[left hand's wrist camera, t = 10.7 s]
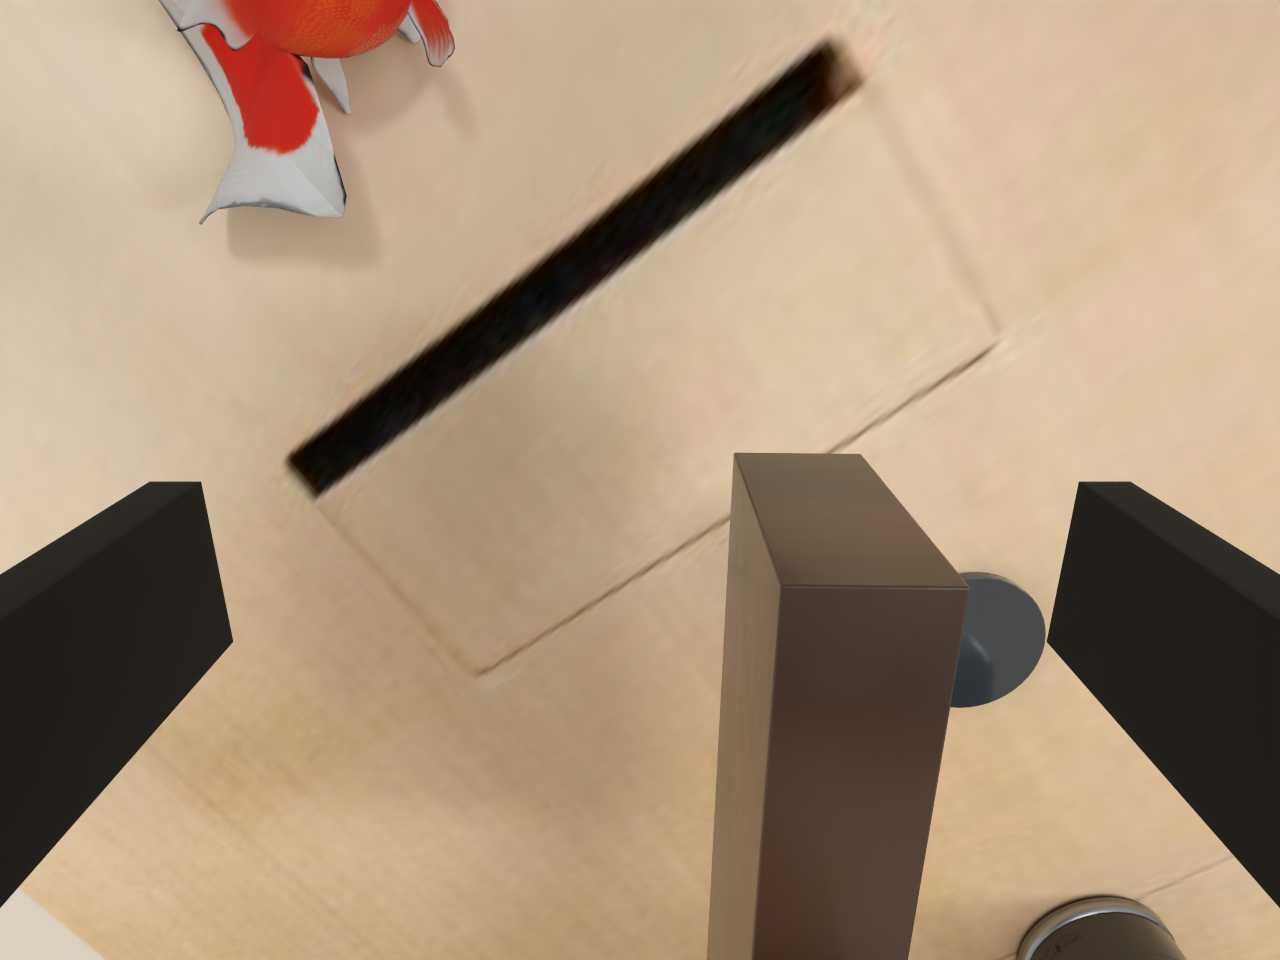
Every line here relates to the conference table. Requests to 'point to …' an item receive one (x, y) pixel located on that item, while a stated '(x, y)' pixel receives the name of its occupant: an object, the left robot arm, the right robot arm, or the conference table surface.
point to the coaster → (996, 640)
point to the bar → (827, 712)
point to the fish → (292, 86)
